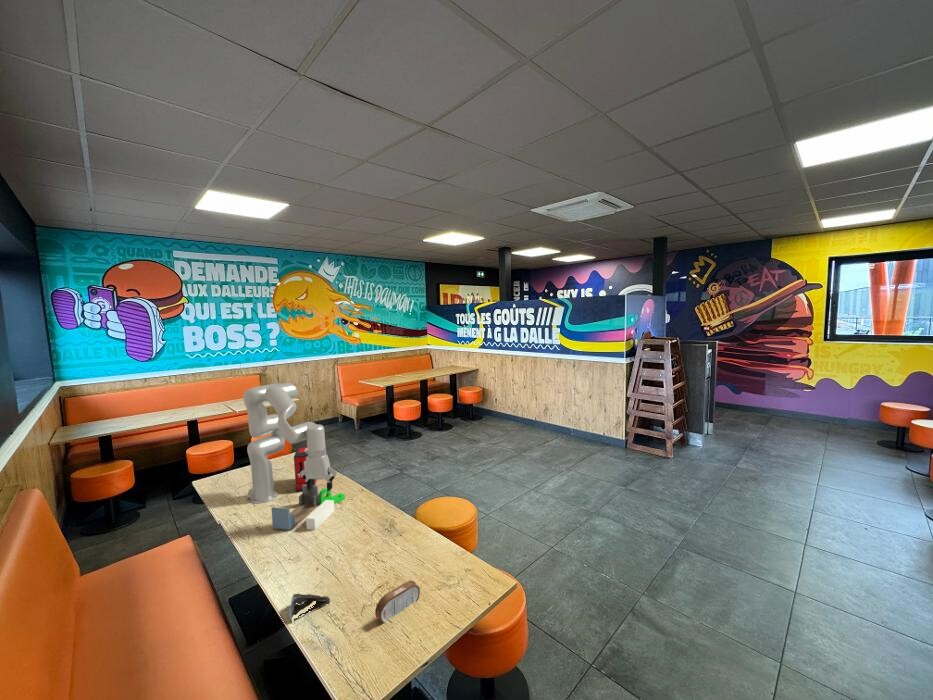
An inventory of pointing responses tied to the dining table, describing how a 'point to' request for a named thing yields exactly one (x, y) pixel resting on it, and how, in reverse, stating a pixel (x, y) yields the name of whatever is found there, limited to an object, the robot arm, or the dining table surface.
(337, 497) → the mechanical part
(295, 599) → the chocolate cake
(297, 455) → the cleaning product box
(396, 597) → the tin
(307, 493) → the endcap rack
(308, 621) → the dining table surface
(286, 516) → the sliding end cap
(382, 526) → the dining table surface
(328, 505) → the slat
